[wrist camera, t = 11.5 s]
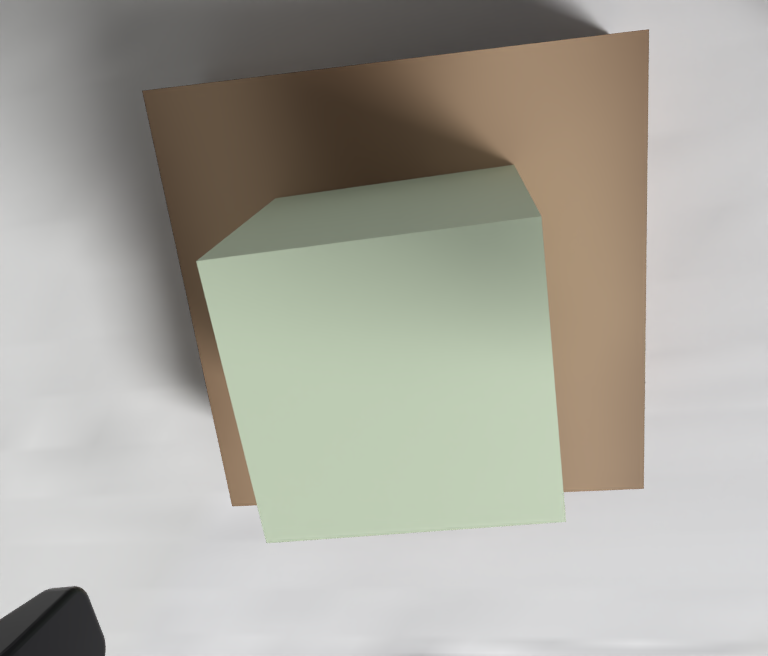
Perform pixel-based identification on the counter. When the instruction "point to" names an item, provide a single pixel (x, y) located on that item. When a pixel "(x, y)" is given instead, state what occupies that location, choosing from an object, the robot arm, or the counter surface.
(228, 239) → the sage cube
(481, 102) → the walnut block
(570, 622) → the counter surface
